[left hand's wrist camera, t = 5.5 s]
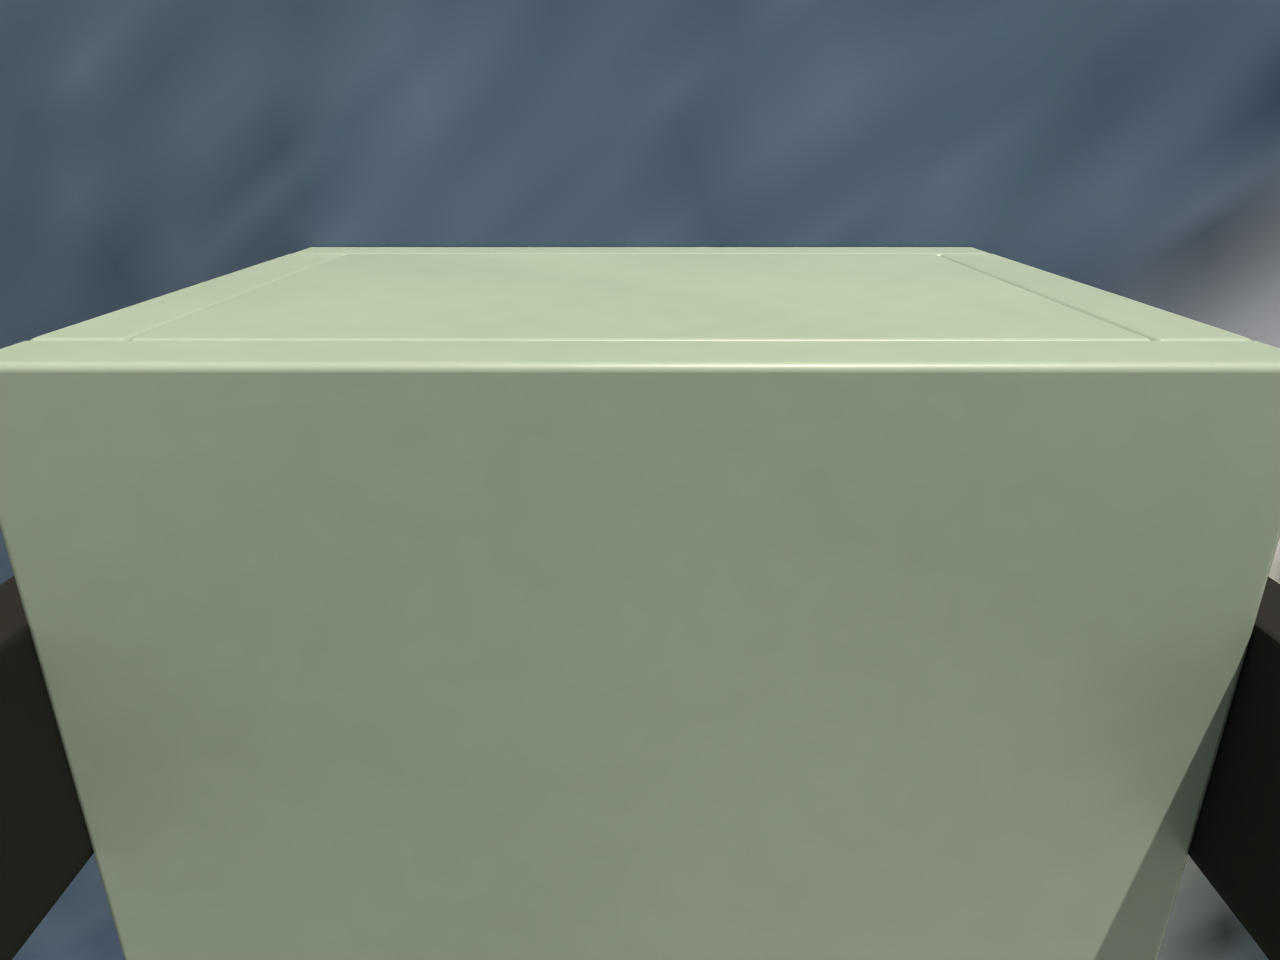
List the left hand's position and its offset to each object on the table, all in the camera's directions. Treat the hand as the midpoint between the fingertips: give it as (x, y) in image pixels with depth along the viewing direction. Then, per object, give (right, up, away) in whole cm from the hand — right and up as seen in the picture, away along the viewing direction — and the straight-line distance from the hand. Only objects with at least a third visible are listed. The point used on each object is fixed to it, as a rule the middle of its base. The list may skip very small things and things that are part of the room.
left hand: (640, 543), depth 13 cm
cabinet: (0, -4, +6) cm, 7 cm away
